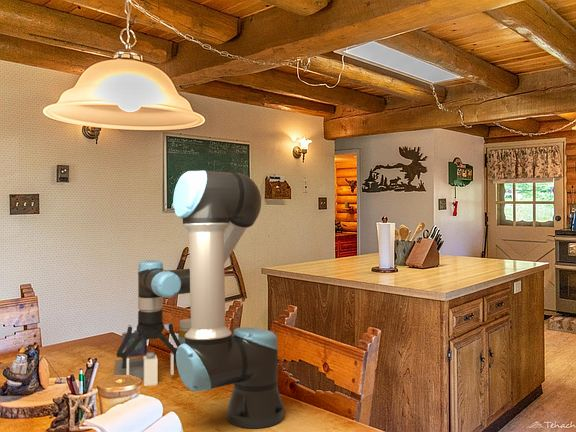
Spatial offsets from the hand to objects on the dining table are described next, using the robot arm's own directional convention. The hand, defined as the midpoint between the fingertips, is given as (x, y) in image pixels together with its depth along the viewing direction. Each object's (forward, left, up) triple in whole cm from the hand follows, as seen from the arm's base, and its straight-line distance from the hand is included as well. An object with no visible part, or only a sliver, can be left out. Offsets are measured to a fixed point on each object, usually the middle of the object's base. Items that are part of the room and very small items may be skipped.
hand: (150, 376), depth 158 cm
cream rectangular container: (0, 0, -2) cm, 2 cm away
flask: (+33, +3, -2) cm, 33 cm away
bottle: (+18, -15, -2) cm, 23 cm away
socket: (+11, +4, -2) cm, 12 cm away
